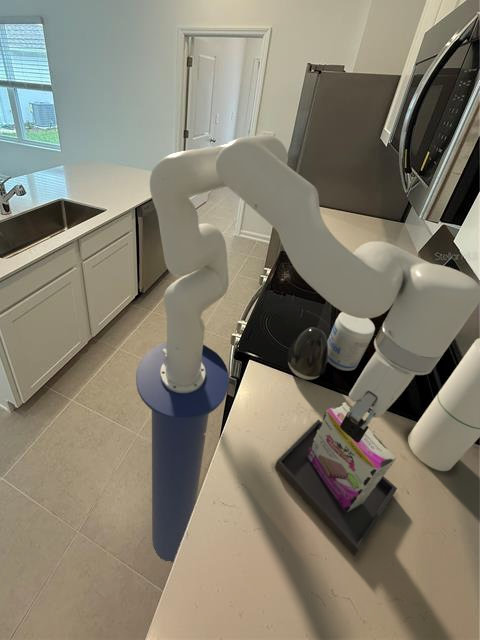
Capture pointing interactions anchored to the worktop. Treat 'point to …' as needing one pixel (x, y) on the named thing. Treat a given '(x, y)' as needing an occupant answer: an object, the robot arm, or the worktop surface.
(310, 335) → the dark glass dome
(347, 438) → the candy bar box
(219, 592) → the worktop surface
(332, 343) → the supplement tub
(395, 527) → the worktop surface
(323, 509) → the pan
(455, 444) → the container
